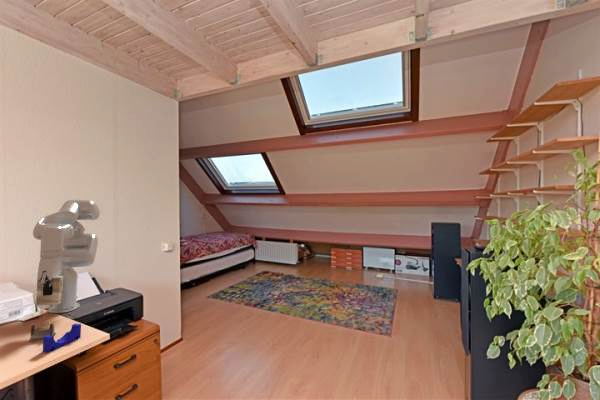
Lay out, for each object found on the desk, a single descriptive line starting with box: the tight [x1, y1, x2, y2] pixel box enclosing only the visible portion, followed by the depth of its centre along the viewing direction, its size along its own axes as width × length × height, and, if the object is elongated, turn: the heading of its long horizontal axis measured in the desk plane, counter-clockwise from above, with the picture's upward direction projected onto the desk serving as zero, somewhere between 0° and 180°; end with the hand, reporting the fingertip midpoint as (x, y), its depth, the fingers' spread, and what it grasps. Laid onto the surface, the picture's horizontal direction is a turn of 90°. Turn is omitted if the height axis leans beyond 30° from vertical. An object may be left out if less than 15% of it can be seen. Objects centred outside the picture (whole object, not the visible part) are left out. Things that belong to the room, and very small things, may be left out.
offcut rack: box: [29, 323, 57, 342], centre depth 113 cm, size 4×7×6 cm, turn 110°
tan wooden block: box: [35, 276, 63, 307], centre depth 121 cm, size 3×8×12 cm, turn 109°
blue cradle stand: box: [42, 322, 82, 354], centre depth 109 cm, size 12×4×6 cm, turn 167°
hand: (49, 293), depth 121 cm, fingers closed on tan wooden block, 3 cm apart
